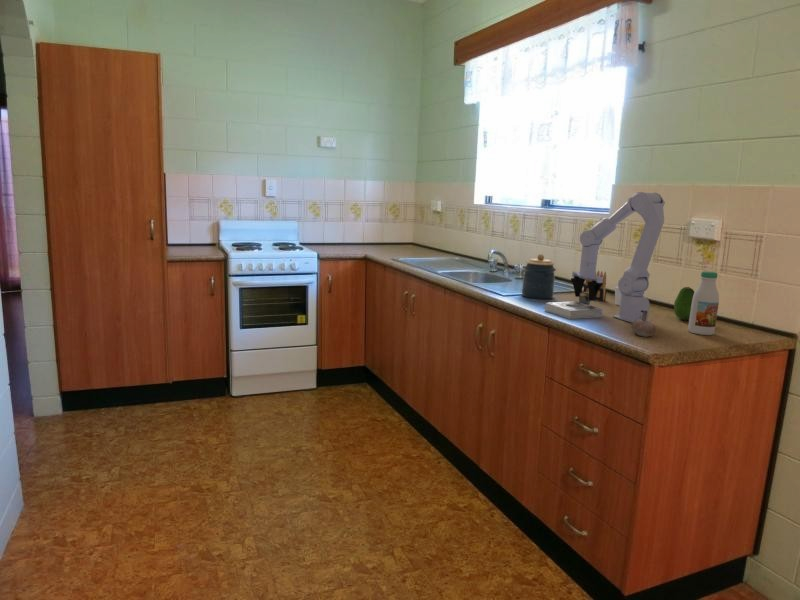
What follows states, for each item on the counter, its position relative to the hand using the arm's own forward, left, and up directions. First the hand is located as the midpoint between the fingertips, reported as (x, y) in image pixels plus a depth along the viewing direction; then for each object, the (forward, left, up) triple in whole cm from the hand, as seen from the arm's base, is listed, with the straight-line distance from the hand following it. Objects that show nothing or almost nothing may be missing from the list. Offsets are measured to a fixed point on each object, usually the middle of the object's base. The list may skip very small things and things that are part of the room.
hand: (584, 298), depth 222 cm
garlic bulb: (-38, +9, -4) cm, 39 cm away
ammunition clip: (+16, -19, -4) cm, 25 cm away
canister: (+25, +3, -4) cm, 25 cm away
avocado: (-25, -24, -4) cm, 35 cm away
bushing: (0, 0, -4) cm, 4 cm away
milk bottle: (-41, -13, -4) cm, 43 cm away
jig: (-7, +11, -4) cm, 14 cm away
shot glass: (+3, -22, -4) cm, 23 cm away
